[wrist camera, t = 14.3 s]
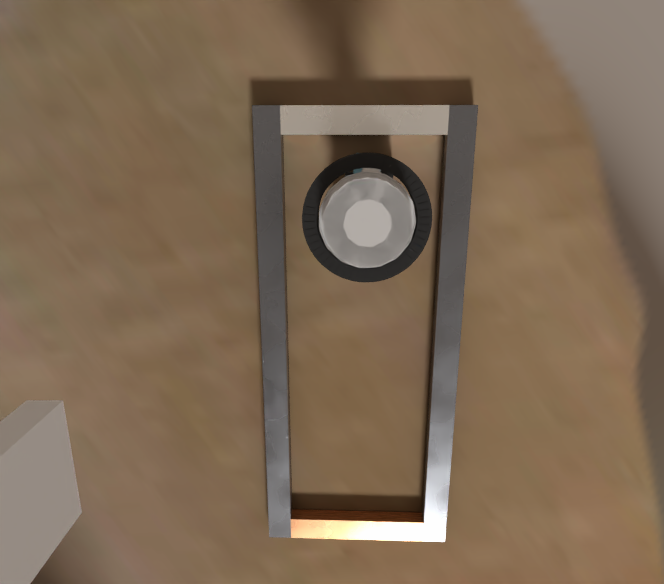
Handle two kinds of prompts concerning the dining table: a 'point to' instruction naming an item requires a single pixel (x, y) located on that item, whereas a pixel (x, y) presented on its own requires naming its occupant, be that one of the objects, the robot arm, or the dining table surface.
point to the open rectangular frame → (446, 323)
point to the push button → (367, 217)
